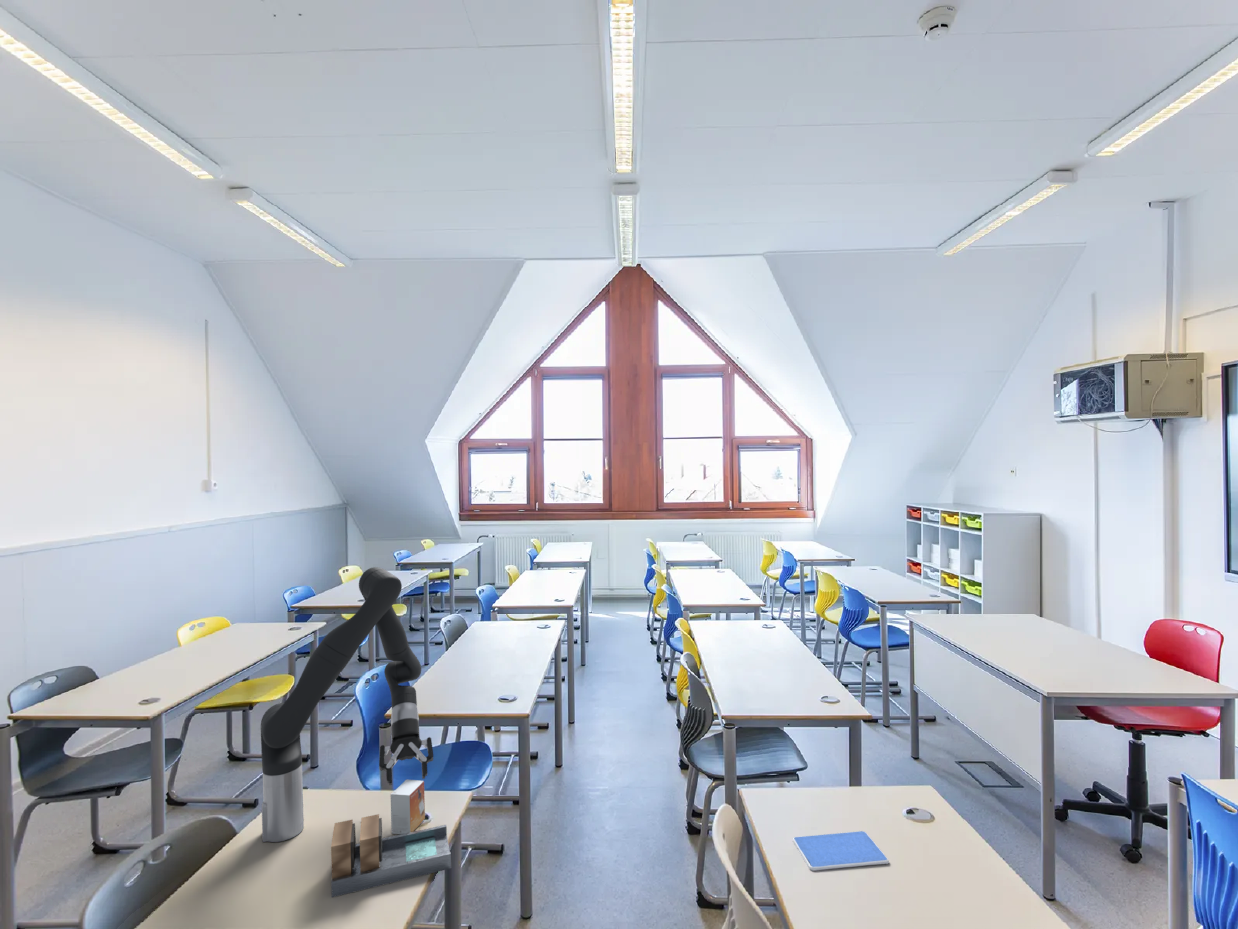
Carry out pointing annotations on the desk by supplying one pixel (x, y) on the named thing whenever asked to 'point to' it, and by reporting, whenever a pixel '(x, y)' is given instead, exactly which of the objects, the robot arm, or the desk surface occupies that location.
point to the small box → (407, 807)
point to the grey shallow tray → (400, 860)
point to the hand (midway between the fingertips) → (407, 781)
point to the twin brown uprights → (346, 846)
